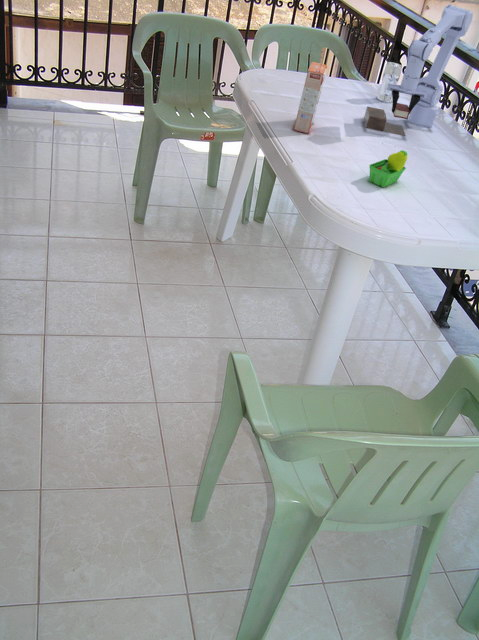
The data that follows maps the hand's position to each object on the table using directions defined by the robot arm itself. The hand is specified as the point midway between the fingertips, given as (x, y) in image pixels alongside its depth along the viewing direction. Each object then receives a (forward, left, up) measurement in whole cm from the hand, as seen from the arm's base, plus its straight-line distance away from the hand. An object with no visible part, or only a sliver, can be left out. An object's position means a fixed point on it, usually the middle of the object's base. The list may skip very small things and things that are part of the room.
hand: (400, 113), depth 252 cm
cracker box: (+35, +15, -8) cm, 38 cm away
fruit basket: (+9, +53, -8) cm, 54 cm away
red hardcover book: (0, 0, 0) cm, 0 cm away
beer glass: (0, -44, -8) cm, 45 cm away
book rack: (+4, 0, -8) cm, 9 cm away
